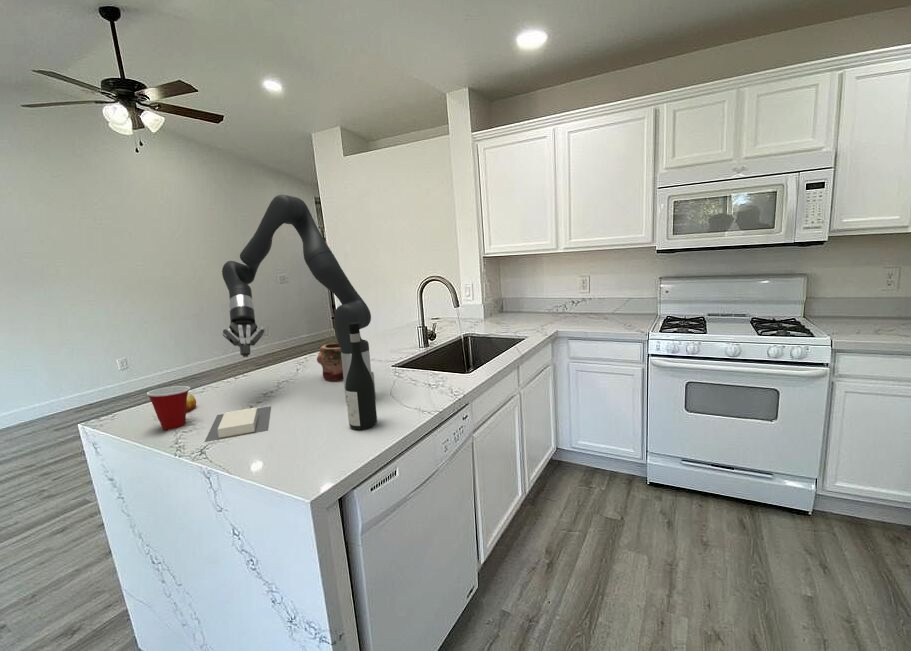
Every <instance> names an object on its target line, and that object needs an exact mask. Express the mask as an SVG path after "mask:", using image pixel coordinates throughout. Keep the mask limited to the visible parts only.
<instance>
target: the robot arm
mask: <svg viewBox="0 0 911 651" xmlns="http://www.w3.org/2000/svg"><path fill="white" fill-rule="evenodd" d="M284 224H285V225H292V226H293V228H294V229H295V230H296V231H297V234H298V235H299V238H300V239H301V241H302V252H303V253H302V254H303V259H304V262H305V264H306V265H307V267H308V269H309V271H310V272H311V274H312V276H313V277H314V278H315V280H317V282H319V283H320V284H321V285H322V286H323V287H324V288H326V289H327V290H329V291H330V292H331V293H332V294H334V296H335V297H336V298H337V299H338V301H339V302H340V305H339V306H337V307H336V309H335V311H334V316H333V320H334V321H333V322H334V330H335V335H336V336H335V337H336V340H337V343H338V344H339V346H340V349H341V357H342V368H343V378H344V380H343V386H344V395H345V398H346V390H345V386H346V378H347V374H348V371H349V368H350V364H351V359H352V350H351V341H350V331H349V327H348V324H349V323H354V322H358V323H359V325H360V330H362V329H364V328H366V327H368V326H369V325H370V324H371V320H372V313H371V311H370V308H369V307H368V305H367V303H366V301H364V299H363V298H362V297H361V295H360V294H359V293H358V291H357V290H356V289H355V287H354V286H353V285H352V283H351V281H350V280H349V278H348V277H347V274H346V273H345V272H344V270H343V269H342V267H341V265H340V263H339V261H338V260H337V258H336V257H335V254H334V253H333V252H332V250H331V248H330V247H329V245H328V244H327V242H326V240H325V239H324V236H323V235H322V233H321V232H320V230H319V229H318V226H317V224H316V222H315V220H314V218H313V216H312V214H311V211H310V208H309V207H308V205H307V204H306V202H305V201H304V200H302V199H301V198H300V197H296V196H291V195H288V194H277V195H276V196H274V197H273V199H272V200H271V201H270V202H269V205H268V207H267V208H266V211H265V212H264V215H263V217H262V219H261V221H260V223H259V224H258V227H257V229H256V231H255V232H254V234H253V235H252V237H251V238H250V240H249V241H248V242H247V243H246V245H245V246H244V248H242V250H241V252H240V253H239V258H240V261H241V262H242V263H241V262H238V261H234V260H229V261H226V262H225V263H224V264H223V266H222V269H221V276H222V278H223V281H224V283H225V286H226V287H227V290H228V293H229V294H228V295H229V296H228V297H229V304H228V306H229V319H230V322H229V326H228V328H227V329H223V330H222V336H223V337H224V338H225V339H226V340H227V341H228V342H229V343H231V344H232V346H234V347H236V346H237V347H239V352H240V355H241V356H242V358H247V357H248V358H249V356H250V355H251V346H255V345H256V344H257V343H258V342H259V341H260V339H262V338H263V336H264V334H265V329H260V328H258V325H257V324H256V316H255V315H256V314H255V306H254V302H253V301H254V300H253V293H252V288H251V286H250V284H253V283H252V282H254V280H255V277H256V275H257V272H258V269H259V268H260V265H261V263H262V262H263V261H264V259H266V257H267V256H268V254H269V253H270V251H271V249H272V244H273V236H274V235H275V233H276V231H277V230H278V229H279V228H280V227H281V226H282V225H284ZM360 330H359V331H360ZM254 334H255V335H254ZM253 335H254V336H253ZM252 336H253V338H252V339H251V337H252ZM360 343H361V353H362V357H363V360H364V363H365V365H366V367H367V369H368V370H369V372H370V375H371V377H372V380H373V383H374V390H375V391H376V387H375V386H376V384H375V383H376V382H375V373H374V371H372V365H371V357H370V356H371V353H370V344H369V342H368V340H366V339H363V338H362V336H361V335H360ZM376 395H377V394H376V393H375V400H376V398H377V396H376ZM345 402H346V404H347V400H346V399H345Z"/></svg>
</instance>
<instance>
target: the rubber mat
mask: <svg viewBox="0 0 911 651" xmlns="http://www.w3.org/2000/svg"><path fill="white" fill-rule="evenodd" d="M257 411H258V417H257V422H256V427H255V431H254V432H253V433H247V434H242V435H236V436H231V437H225V438H219V436H218V427H219V425H220V422H221V420H222V418H223V415H224V413H220V414H216V417H215V419H214V420H213V422H212V425H211V427H210V429H209V431H208V433H207V435H206V438H205V440H204V443H206V442H207V443H208V442H212V441H217V440H218V441H219V440H223V439H230V438H234V437H240V436H247V435H252V434H259V433H262V432H267V431H268V432H269V426H270V418H271V413H272V405H271V406H265V407H257Z"/></svg>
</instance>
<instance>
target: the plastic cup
mask: <svg viewBox="0 0 911 651" xmlns="http://www.w3.org/2000/svg"><path fill="white" fill-rule="evenodd" d="M190 389H191V386H188V385H187V386H186V385H175V386H167V387H159V388H156V389H152V390H150V391H147V393H146V395H147V396H148V398H149V400H150V402H151V404H152V407H153V409H154V411H155V414H156V417H157V419H158V421H159V423H160V426H161V428H162V429H163V431H167V432H168V431H169V430H173V429H177V428H180V427H183V426H184V425H185V424H186V423H187V421H186V420H187V418H186V416H187V413H186V406H187V395H188V393H189V391H190Z"/></svg>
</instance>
